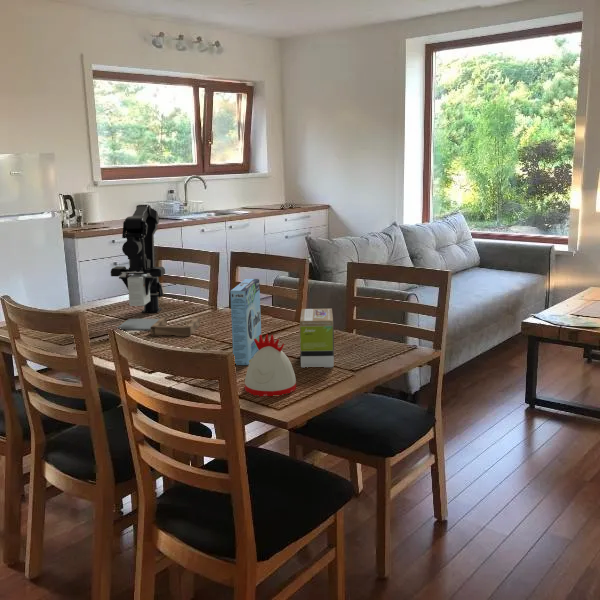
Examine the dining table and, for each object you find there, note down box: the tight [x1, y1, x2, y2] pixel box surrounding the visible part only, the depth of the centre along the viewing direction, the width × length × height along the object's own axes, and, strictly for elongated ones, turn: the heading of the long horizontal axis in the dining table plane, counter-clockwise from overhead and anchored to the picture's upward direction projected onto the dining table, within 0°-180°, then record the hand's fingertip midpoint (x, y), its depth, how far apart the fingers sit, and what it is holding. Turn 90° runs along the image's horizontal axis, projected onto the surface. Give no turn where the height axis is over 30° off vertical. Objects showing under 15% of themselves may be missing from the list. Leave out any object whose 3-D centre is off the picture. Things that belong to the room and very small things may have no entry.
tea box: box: [299, 308, 335, 369], centre depth 202 cm, size 15×10×15 cm
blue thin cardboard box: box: [229, 278, 262, 366], centre depth 206 cm, size 20×5×23 cm, turn 171°
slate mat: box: [116, 318, 161, 331], centre depth 247 cm, size 14×14×1 cm
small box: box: [127, 274, 150, 307], centre depth 244 cm, size 8×6×10 cm
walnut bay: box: [150, 316, 201, 337], centre depth 239 cm, size 14×14×3 cm
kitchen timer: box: [244, 333, 297, 397], centre depth 179 cm, size 14×14×15 cm
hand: (139, 294), depth 245 cm, fingers closed on small box, 6 cm apart
